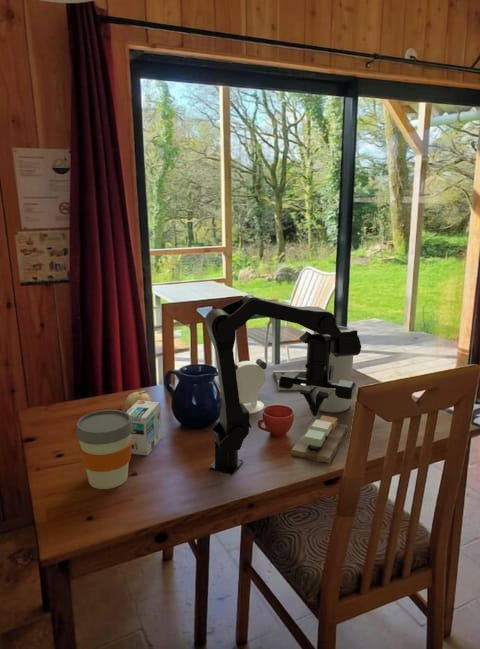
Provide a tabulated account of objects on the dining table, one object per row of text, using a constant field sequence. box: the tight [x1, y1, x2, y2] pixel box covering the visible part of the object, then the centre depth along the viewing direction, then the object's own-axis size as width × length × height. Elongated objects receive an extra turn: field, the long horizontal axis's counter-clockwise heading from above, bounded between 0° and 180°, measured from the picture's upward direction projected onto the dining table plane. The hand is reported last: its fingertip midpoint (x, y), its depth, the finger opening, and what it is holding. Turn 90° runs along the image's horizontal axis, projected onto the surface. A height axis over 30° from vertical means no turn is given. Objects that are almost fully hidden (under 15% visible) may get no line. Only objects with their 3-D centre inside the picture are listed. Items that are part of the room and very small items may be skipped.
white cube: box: [311, 419, 332, 437], centre depth 133 cm, size 4×4×4 cm
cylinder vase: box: [313, 325, 354, 414], centre depth 155 cm, size 12×12×25 cm
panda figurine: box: [235, 358, 268, 415], centre depth 155 cm, size 12×11×15 cm
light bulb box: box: [125, 400, 162, 456], centre depth 131 cm, size 11×7×11 cm, turn 168°
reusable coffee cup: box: [76, 409, 133, 490], centre depth 115 cm, size 13×13×15 cm
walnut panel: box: [291, 418, 348, 464], centre depth 134 cm, size 20×10×2 cm, turn 155°
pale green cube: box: [304, 429, 326, 450], centre depth 128 cm, size 4×4×4 cm
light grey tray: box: [272, 369, 306, 391], centre depth 178 cm, size 17×5×16 cm
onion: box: [124, 388, 153, 411], centre depth 152 cm, size 8×8×7 cm
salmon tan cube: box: [318, 414, 338, 431], centre depth 139 cm, size 4×4×4 cm
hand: (315, 415), depth 126 cm, fingers closed
